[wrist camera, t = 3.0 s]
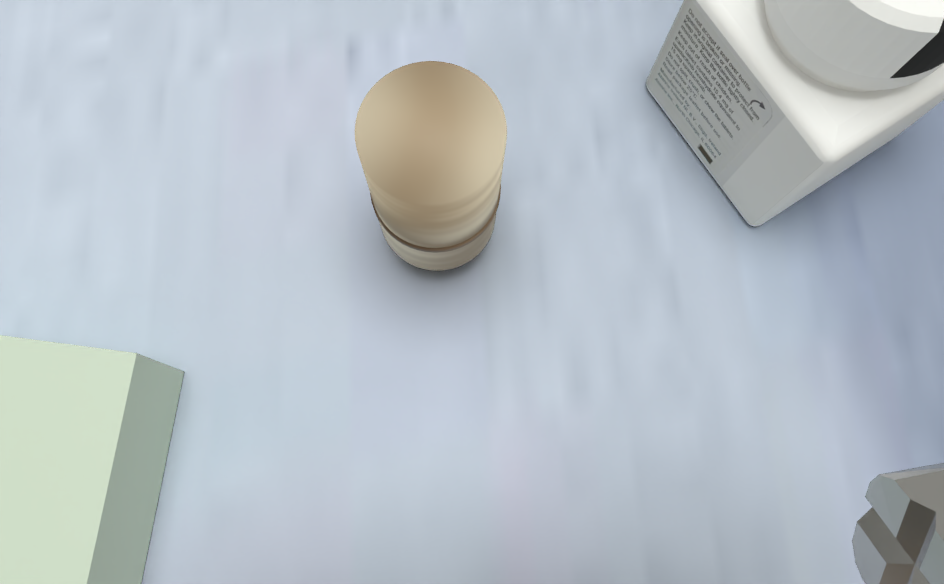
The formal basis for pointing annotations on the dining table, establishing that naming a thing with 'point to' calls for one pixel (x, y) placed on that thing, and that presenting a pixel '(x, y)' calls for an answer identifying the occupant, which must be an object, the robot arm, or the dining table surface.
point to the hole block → (80, 460)
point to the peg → (433, 161)
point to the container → (795, 88)
